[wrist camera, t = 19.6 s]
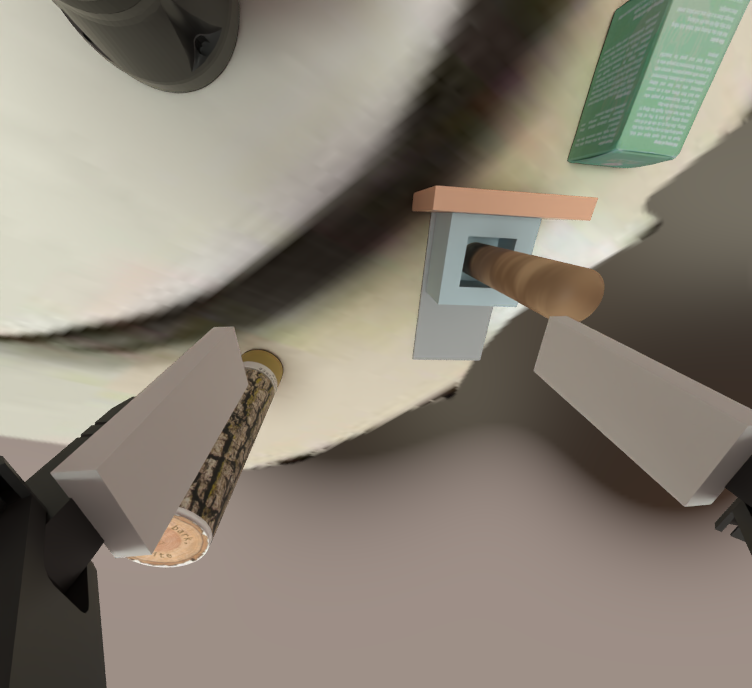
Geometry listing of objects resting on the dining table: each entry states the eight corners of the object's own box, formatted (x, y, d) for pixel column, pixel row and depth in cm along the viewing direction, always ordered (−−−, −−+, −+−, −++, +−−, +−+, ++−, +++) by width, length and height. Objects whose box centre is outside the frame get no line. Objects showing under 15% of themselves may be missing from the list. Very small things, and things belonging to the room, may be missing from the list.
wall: (413, 193, 34) (436, 185, 25) (535, 201, 36) (598, 197, 27) (411, 211, 35) (432, 210, 26) (531, 218, 36) (590, 220, 27)
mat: (433, 194, 34) (434, 194, 34) (517, 200, 35) (519, 200, 35) (412, 358, 44) (413, 359, 44) (478, 359, 45) (479, 360, 45)
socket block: (436, 212, 34) (452, 212, 29) (512, 217, 35) (541, 218, 30) (426, 291, 39) (438, 304, 33) (494, 294, 40) (516, 306, 34)
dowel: (461, 241, 34) (557, 266, 18) (492, 243, 35) (613, 269, 18) (455, 273, 36) (538, 324, 20) (484, 275, 36) (590, 325, 20)
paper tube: (262, 339, 41) (150, 496, 18) (293, 371, 43) (229, 543, 21) (228, 363, 42) (83, 538, 19) (260, 393, 45) (166, 577, 22)
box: (563, 165, 34) (617, 153, 27) (610, 12, 29) (691, -51, 22) (617, 171, 35) (681, 160, 28) (672, 23, 29) (769, -35, 23)
